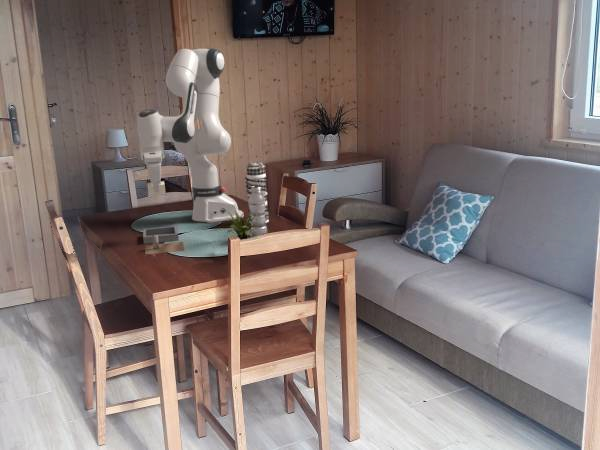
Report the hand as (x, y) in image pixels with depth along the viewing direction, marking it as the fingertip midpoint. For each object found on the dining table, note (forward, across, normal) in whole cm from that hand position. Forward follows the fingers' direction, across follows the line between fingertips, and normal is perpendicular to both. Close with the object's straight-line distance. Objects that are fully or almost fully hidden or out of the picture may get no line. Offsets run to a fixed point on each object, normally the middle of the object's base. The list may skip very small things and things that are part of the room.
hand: (156, 189), depth 256 cm
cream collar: (+2, 0, 0) cm, 2 cm away
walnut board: (+20, +14, 0) cm, 25 cm away
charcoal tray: (+20, 0, 0) cm, 20 cm away
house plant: (+20, +29, +26) cm, 44 cm away
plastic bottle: (+21, +11, +36) cm, 43 cm away
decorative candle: (+21, -14, +41) cm, 48 cm away
